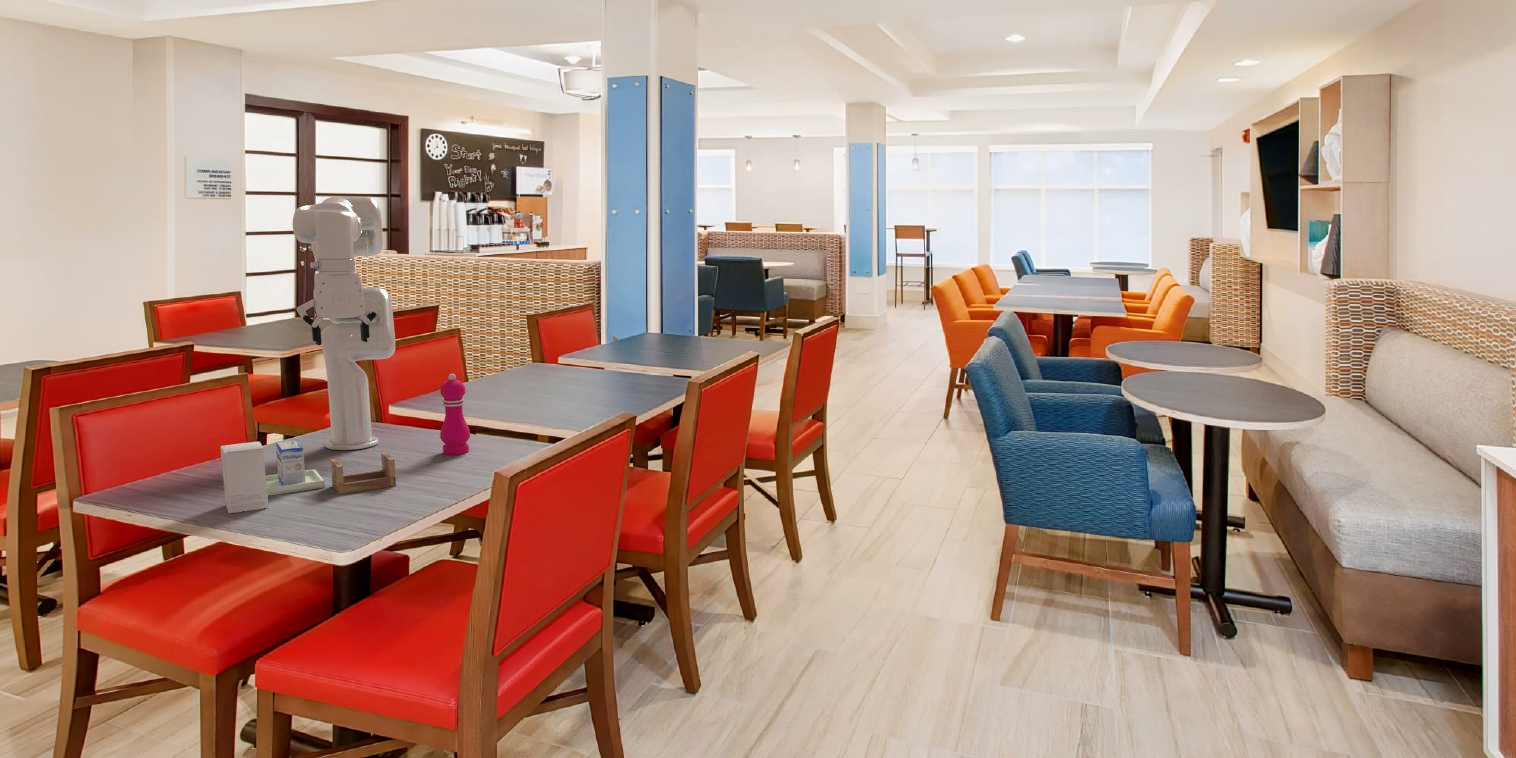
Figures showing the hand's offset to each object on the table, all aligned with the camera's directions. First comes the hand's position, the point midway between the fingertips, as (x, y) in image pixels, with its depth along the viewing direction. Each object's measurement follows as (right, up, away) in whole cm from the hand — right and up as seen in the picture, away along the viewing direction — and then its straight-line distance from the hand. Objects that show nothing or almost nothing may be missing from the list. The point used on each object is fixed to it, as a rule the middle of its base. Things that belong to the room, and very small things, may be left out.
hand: (341, 343), depth 212 cm
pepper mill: (+18, -27, +25) cm, 41 cm away
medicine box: (-8, -31, -5) cm, 33 cm away
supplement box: (-10, -34, -20) cm, 41 cm away
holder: (+7, -32, -5) cm, 33 cm away
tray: (-8, -32, -5) cm, 33 cm away
